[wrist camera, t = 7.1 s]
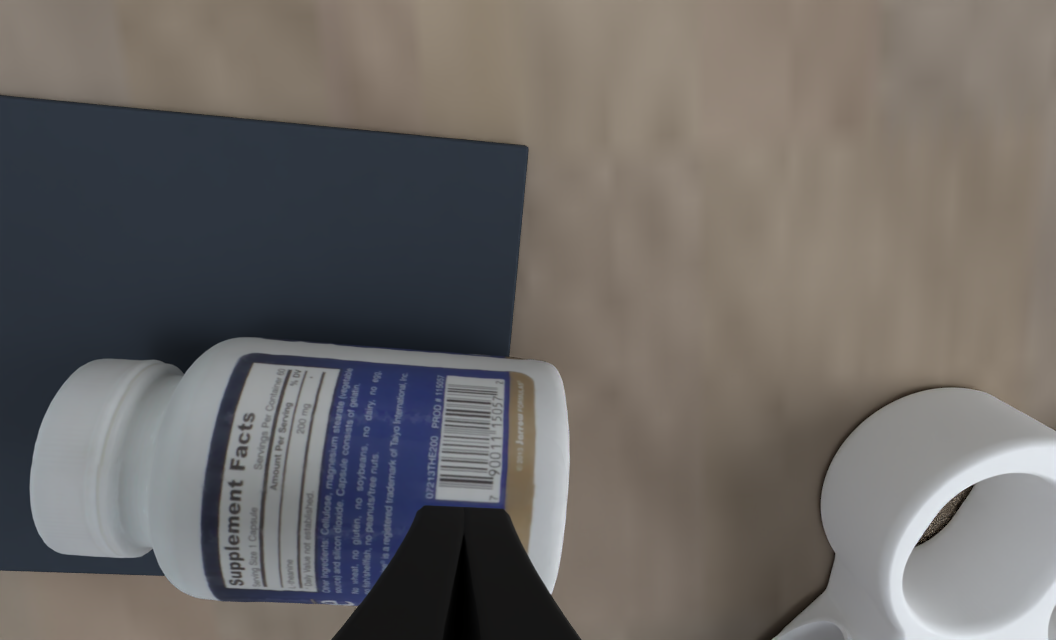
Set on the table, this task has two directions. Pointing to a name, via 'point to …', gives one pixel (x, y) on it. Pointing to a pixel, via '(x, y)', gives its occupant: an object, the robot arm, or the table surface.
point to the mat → (229, 255)
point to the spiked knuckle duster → (960, 547)
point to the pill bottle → (296, 462)
